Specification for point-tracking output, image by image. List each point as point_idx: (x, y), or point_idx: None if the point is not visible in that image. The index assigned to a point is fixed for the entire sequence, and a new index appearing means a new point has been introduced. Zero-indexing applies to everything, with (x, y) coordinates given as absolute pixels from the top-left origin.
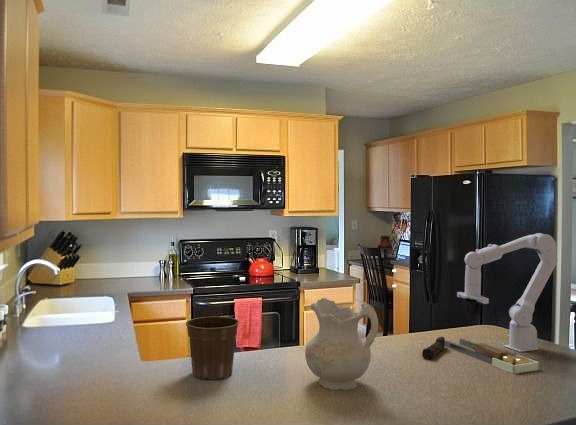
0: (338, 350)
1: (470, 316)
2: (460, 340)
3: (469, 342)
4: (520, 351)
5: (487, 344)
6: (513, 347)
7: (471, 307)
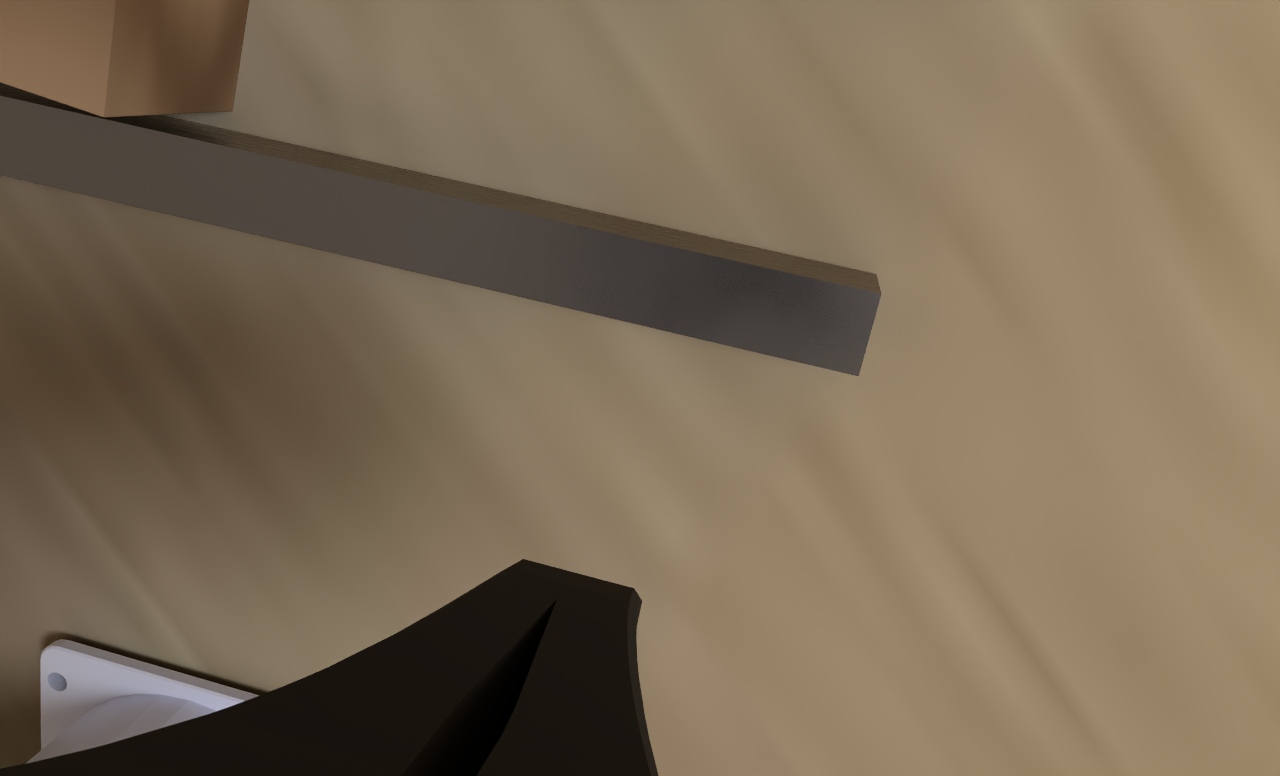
0: None
1: (486, 592)
2: (854, 284)
3: (591, 236)
4: (52, 645)
5: (1, 66)
6: (165, 703)
7: (80, 756)
